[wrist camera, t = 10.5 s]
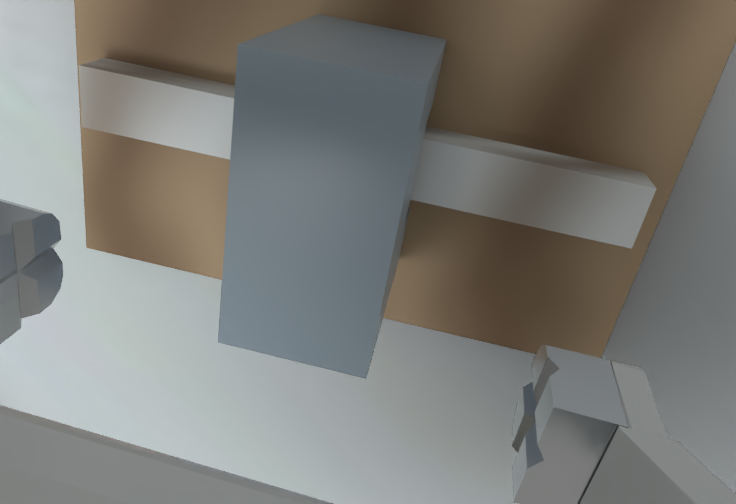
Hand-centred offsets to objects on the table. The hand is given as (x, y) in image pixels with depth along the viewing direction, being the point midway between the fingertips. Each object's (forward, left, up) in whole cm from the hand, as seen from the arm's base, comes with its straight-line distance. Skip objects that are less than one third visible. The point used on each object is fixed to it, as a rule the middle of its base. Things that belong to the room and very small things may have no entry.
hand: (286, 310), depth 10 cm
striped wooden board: (+1, +1, -12) cm, 12 cm away
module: (+1, +1, -11) cm, 11 cm away
